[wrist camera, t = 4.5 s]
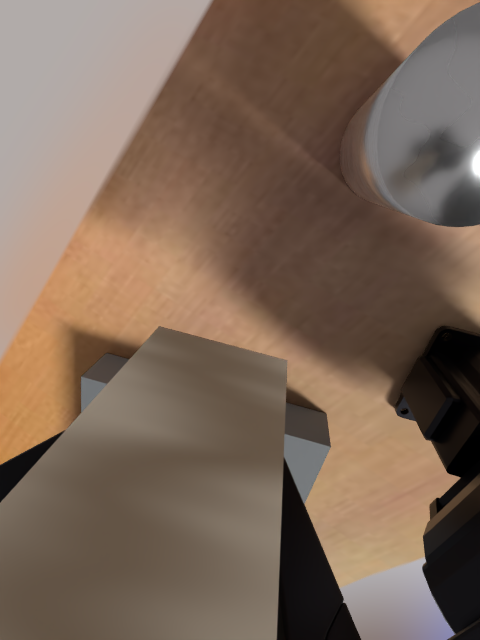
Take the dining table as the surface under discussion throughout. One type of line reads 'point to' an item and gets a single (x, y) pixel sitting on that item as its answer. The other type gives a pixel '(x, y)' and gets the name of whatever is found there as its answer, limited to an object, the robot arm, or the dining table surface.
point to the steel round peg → (423, 131)
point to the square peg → (155, 505)
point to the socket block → (300, 425)
